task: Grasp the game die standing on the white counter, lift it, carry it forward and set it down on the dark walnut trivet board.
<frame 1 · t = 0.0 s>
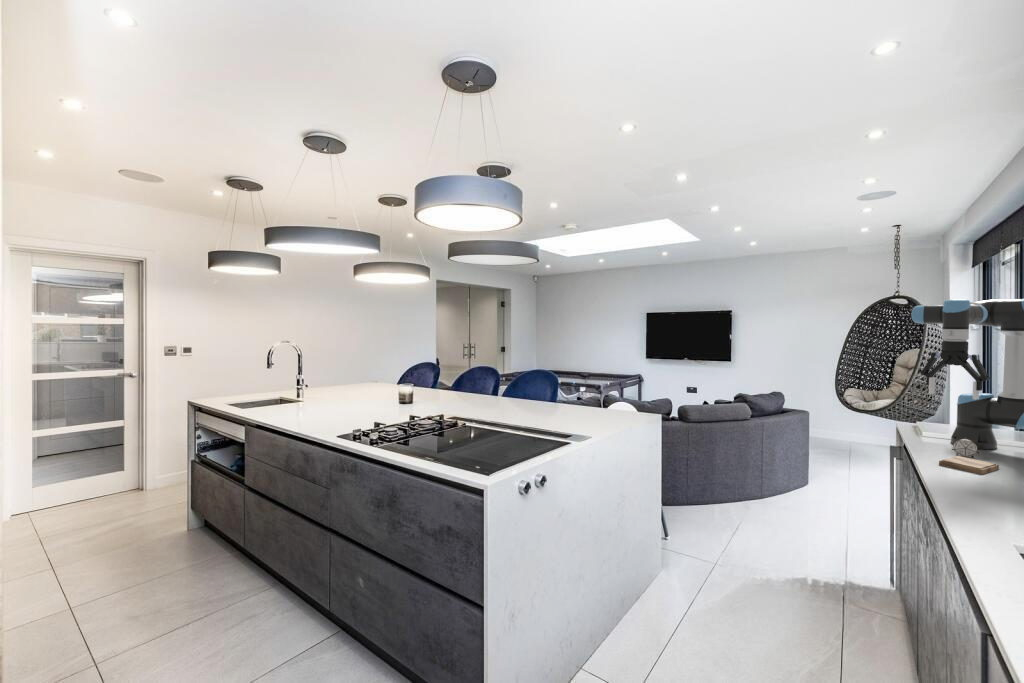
hand: (952, 396, 188), 28 cm above the worktop, fingers open, 13 cm apart
trivet: (968, 466, 192), on the worktop
game die: (964, 457, 204), on the worktop
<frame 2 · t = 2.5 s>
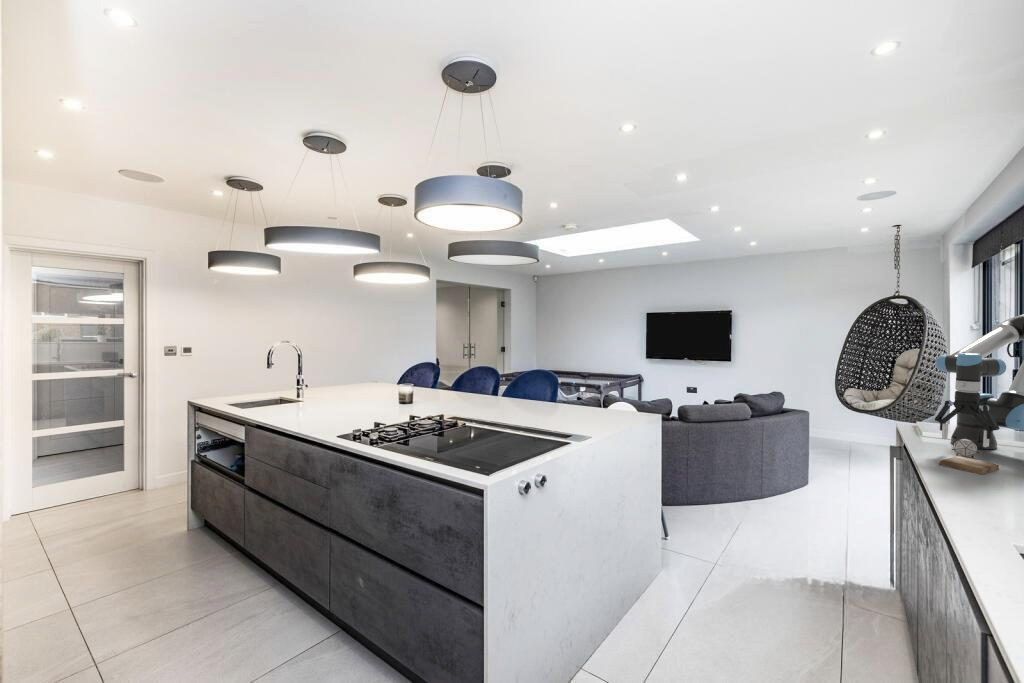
hand: (964, 442, 203), 6 cm above the worktop, fingers open, 13 cm apart
nothing on the worktop moved.
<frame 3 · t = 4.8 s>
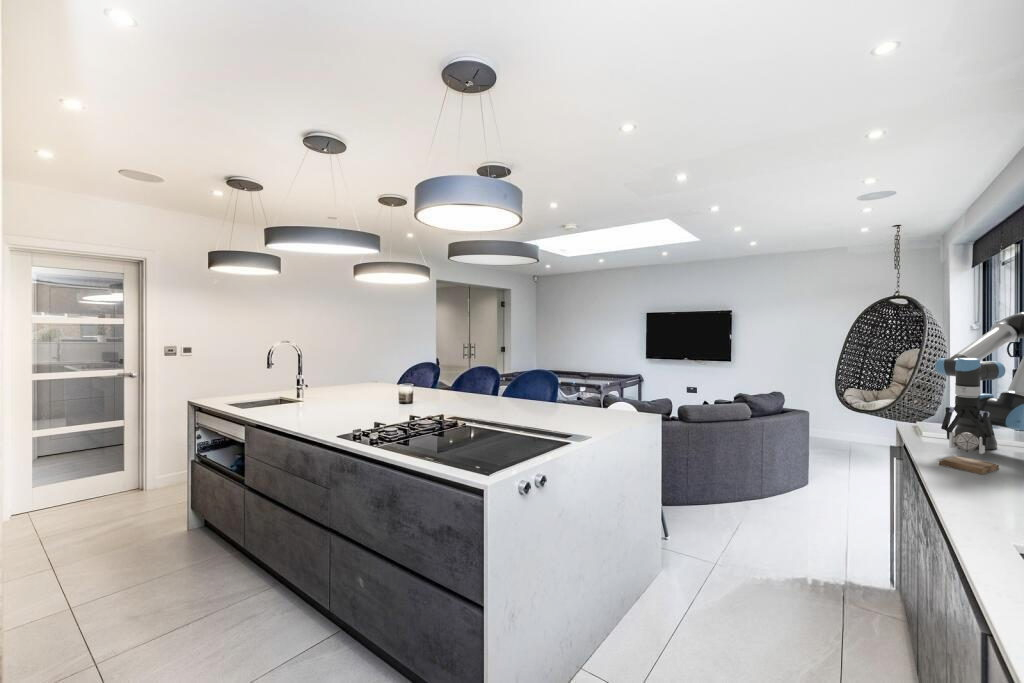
hand: (966, 450, 204), 3 cm above the worktop, fingers closed on game die, 9 cm apart
game die: (966, 451, 204), point 2 cm above the worktop, touching gripper
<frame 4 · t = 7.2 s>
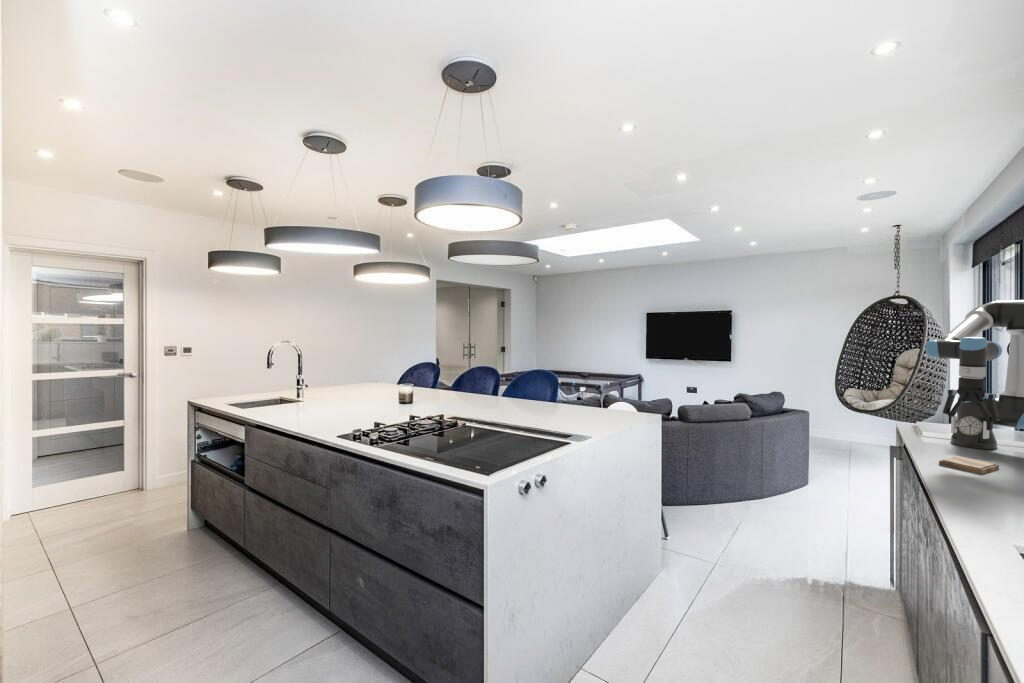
hand: (969, 435, 191), 12 cm above the worktop, fingers closed on game die, 9 cm apart
game die: (969, 436, 191), point 12 cm above the worktop, touching gripper
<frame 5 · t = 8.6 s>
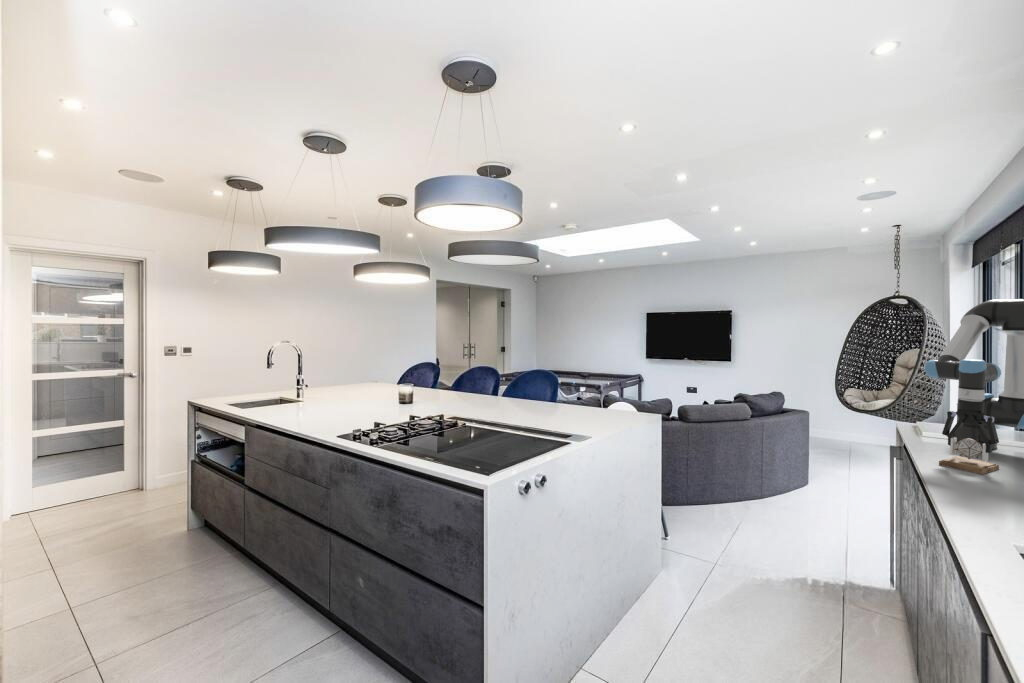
hand: (968, 457, 191), 4 cm above the worktop, fingers closed on game die, 9 cm apart
game die: (968, 458, 191), point 3 cm above the worktop, touching gripper
when the fingers open (3 cm above the worktop, at t = 9.6 s): game die drops 1 cm, resting on trivet.
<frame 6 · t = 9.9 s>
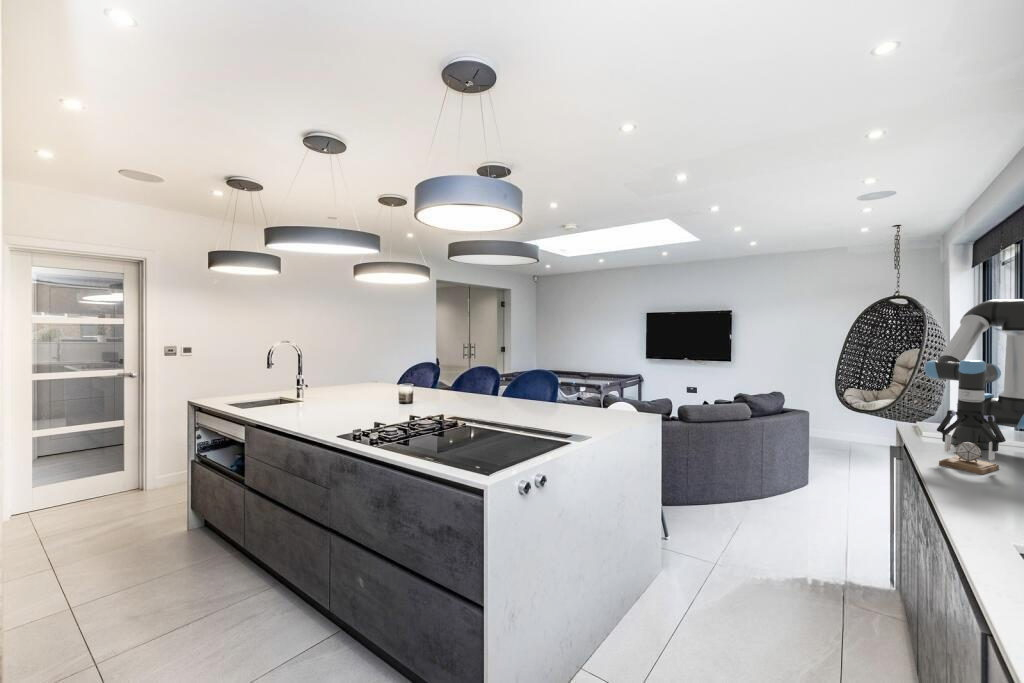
hand: (968, 455, 191), 5 cm above the worktop, fingers open, 13 cm apart
game die: (967, 462, 192), point 2 cm above the worktop, touching trivet
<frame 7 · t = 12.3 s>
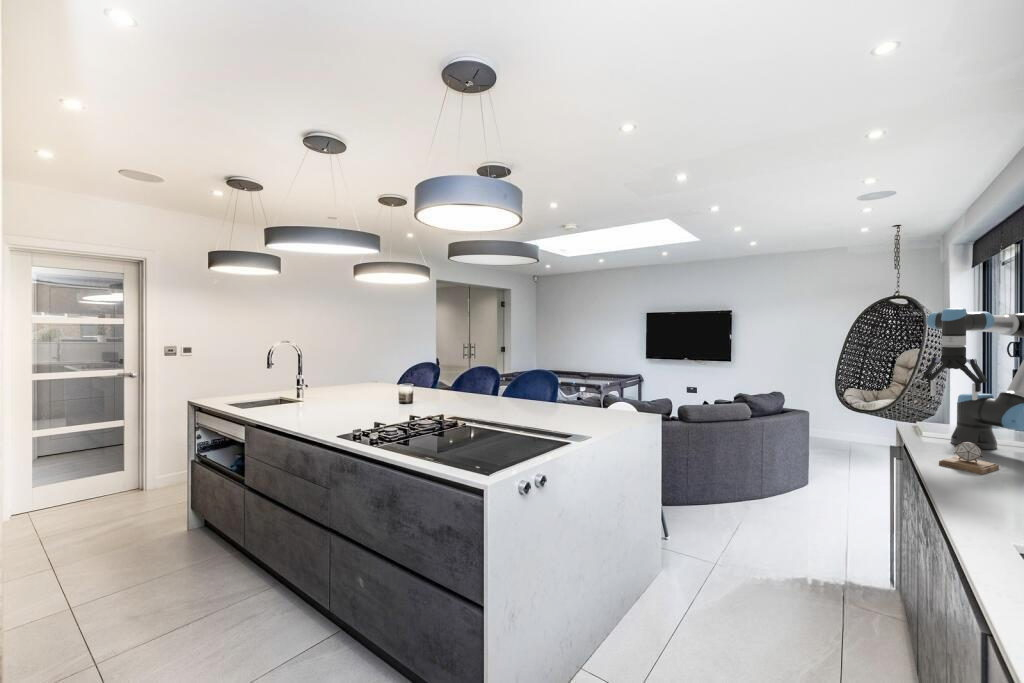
hand: (953, 397, 204), 25 cm above the worktop, fingers open, 13 cm apart
nothing on the worktop moved.
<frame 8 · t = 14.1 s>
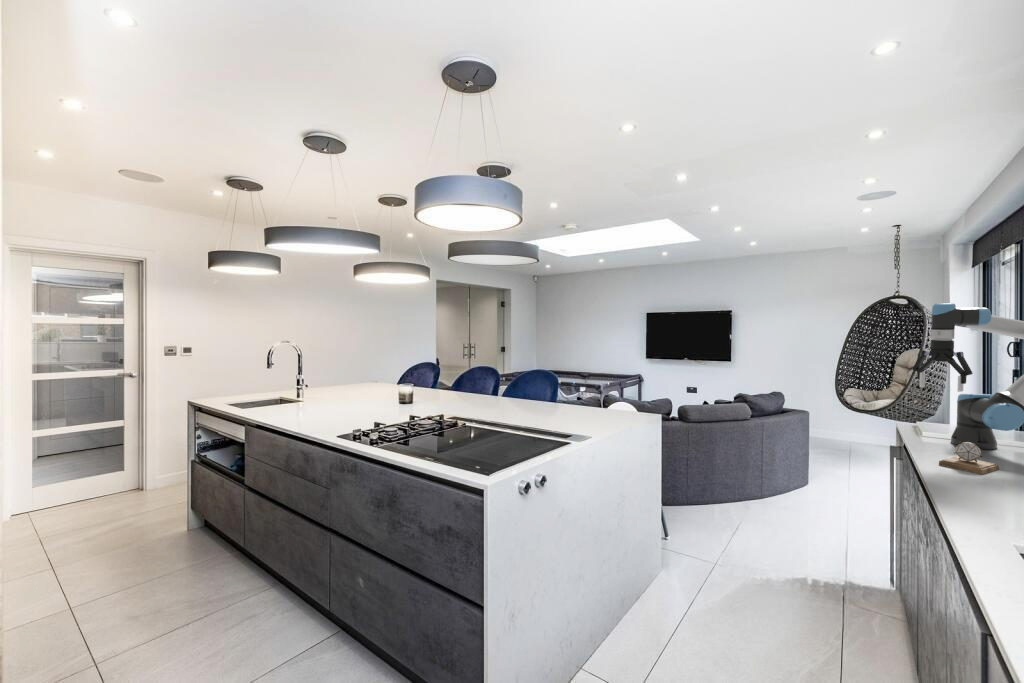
hand: (940, 389, 212), 27 cm above the worktop, fingers open, 13 cm apart
nothing on the worktop moved.
at the end: game die inside the target area on the trivet (0.4 cm from its centre), point 1.8 cm above the trivet's base; game die touching trivet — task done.
